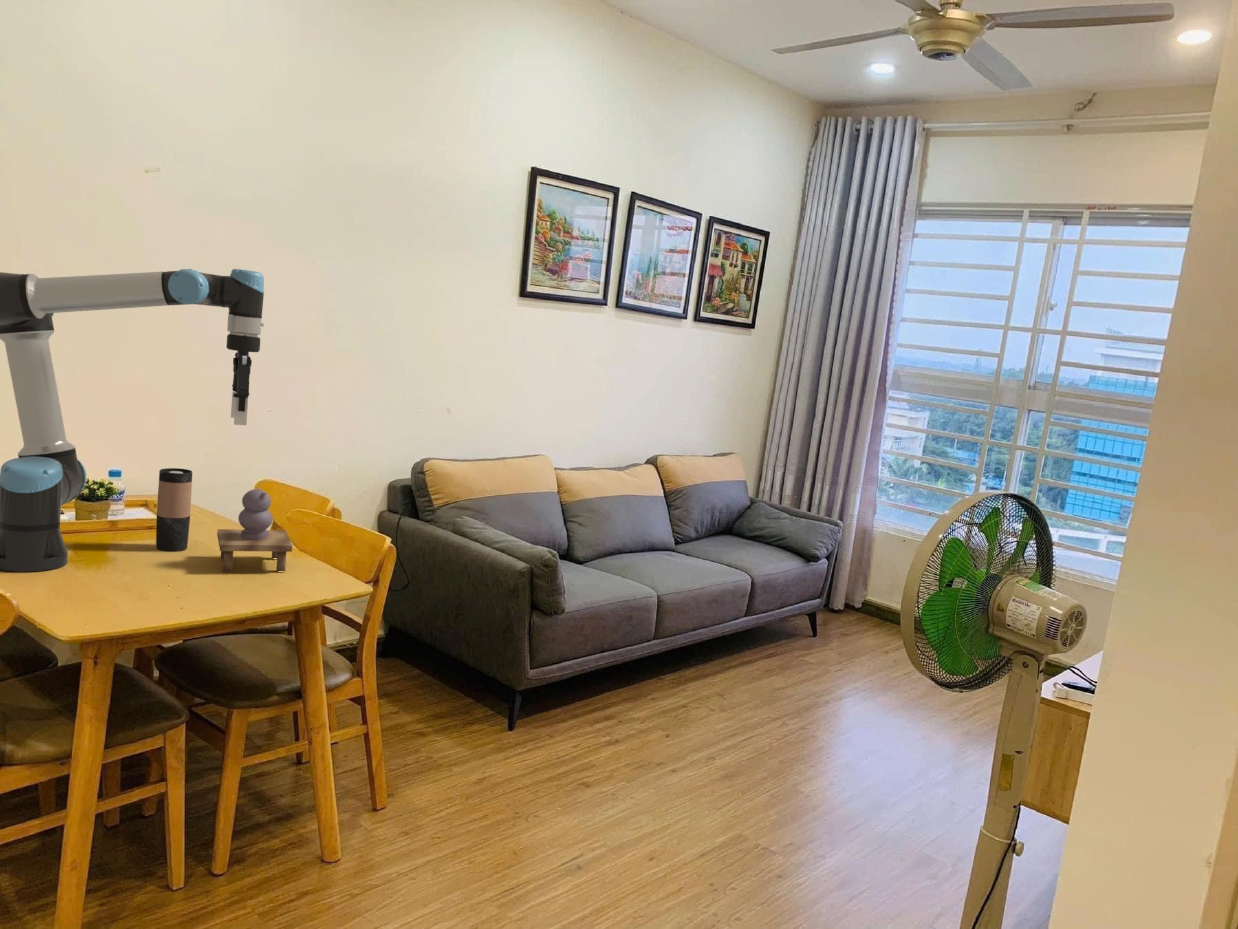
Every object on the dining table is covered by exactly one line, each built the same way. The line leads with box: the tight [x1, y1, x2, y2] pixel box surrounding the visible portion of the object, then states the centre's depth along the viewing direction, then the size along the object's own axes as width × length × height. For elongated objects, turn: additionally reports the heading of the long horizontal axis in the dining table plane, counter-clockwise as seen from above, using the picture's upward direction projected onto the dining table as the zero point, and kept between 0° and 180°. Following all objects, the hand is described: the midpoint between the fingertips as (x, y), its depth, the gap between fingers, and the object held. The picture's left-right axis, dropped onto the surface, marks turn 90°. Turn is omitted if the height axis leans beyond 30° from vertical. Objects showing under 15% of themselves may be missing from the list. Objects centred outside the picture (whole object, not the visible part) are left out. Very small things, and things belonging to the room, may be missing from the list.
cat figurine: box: [237, 487, 274, 540], centre depth 223 cm, size 8×8×12 cm
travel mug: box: [155, 467, 193, 553], centre depth 230 cm, size 8×8×20 cm
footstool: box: [216, 528, 293, 574], centre depth 225 cm, size 16×16×7 cm
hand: (238, 421), depth 224 cm, fingers open, 13 cm apart
